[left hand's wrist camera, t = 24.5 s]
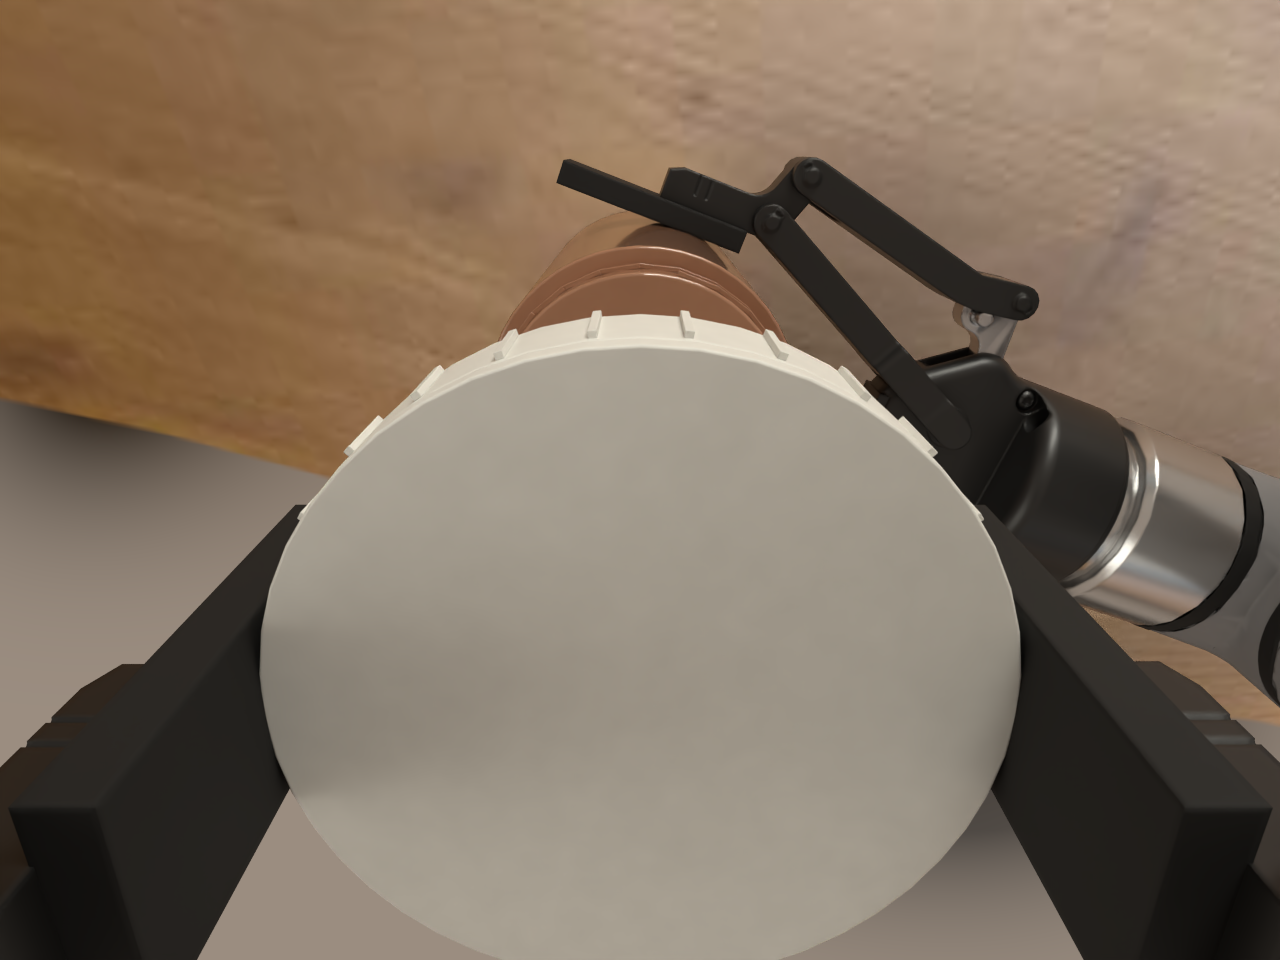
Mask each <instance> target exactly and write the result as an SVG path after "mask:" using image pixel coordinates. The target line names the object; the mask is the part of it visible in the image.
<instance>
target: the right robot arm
mask: <svg viewBox="0 0 1280 960" xmlns="http://www.w3.org/2000/svg"><path fill="white" fill-rule="evenodd" d="M556 183H558V184H561V185H563V186H566V187H568V188H571V189H574V190H576V191H579V192H581V193H584V194H586V195H589V196H592V197H594V198H597V199H599V200H602V201H604V202H607V203H610V204H612V205H615V206H617V207H620V208H623V209H625V210H628V211H630V212H633V213H635V214H638V215H641V216H643V217H646V218H648V219H651V220H653V221H656V222H659V223H661V224H664V225H666V226H669V227H671V228H674V229H677V230H679V231H682V232H684V233H687V234H690V235H692V236H695V237H697V238H700V239H702V240H705V241H708V242H710V243H713V244H715V245H718V246H720V247H723V248H726V249H728V250H731V251H733V252H736V253H739V252H740V249H741V247H742V244H743V242H744V239H745V237H746V234H747V233H750V234H752V235H755V236H756V237H757V238H758V239H759V241H760V242H761V243H762V244H763V245H764V246H765V248H766V249H767V250H768V251H769V252H770V253H771V254H772V256H773V257H774V258H775V259H776V260H777V261H778V262H779V264H780V265H781V266H782V267H783V268H784V269H785V270H786V272H787V273H788V274H789V275H790V276H791V277H792V278H793V280H794V281H795V282H796V283H797V284H798V285H799V286H800V288H801V289H802V290H803V291H804V292H805V293H806V294H807V296H808V297H809V298H810V299H811V300H812V301H813V303H814V304H815V305H816V306H817V307H818V308H819V309H820V311H821V312H822V313H823V314H824V315H825V316H826V317H827V319H828V320H829V321H830V322H831V323H832V324H833V325H834V327H835V328H836V329H837V330H838V331H839V332H840V333H841V335H842V336H843V337H844V338H845V339H846V340H847V341H848V343H849V344H850V345H851V346H852V347H853V348H854V350H855V351H856V352H857V353H858V355H859V356H860V357H861V358H862V359H863V360H864V362H865V363H866V364H867V365H868V366H869V367H870V368H871V370H872V371H873V372H874V373H875V374H876V375H877V376H876V377H875V378H874V379H873V380H872V381H869V380H866V382H865V384H864V386H863V387H864V388H865V389H866V390H867V391H868V392H869V393H870V394H871V395H872V396H873V397H874V398H875V399H876V400H877V401H878V402H879V403H880V404H881V405H882V406H883V407H884V408H885V409H886V410H888V411H889V412H890V413H891V414H892V415H893V416H894V417H895V418H896V419H897V420H899V419H900V418H901V417H905V419H906V420H907V421H908V422H909V423H910V424H911V425H912V426H913V427H914V428H915V429H916V430H917V431H918V432H919V433H920V434H921V435H922V436H923V437H924V438H925V439H926V440H927V441H928V442H929V443H930V445H931V446H932V447H933V448H934V449H935V450H936V451H937V452H938V453H937V454H936V455H935V456H934V457H933V458H934V459H935V460H936V461H937V463H938V464H939V465H940V466H941V467H942V468H943V469H944V471H945V472H946V473H947V474H948V476H949V477H950V478H951V479H952V481H953V482H954V483H955V484H956V486H957V487H958V488H959V489H960V491H961V492H962V493H963V494H964V496H965V497H966V498H967V499H968V500H969V501H970V502H971V503H972V504H973V505H986V506H987V508H988V509H989V510H990V511H991V512H992V513H993V514H994V515H995V516H996V517H997V518H998V519H999V520H1000V521H1001V522H1002V523H1003V524H1004V525H1005V526H1006V528H1007V529H1008V530H1009V531H1010V532H1011V533H1012V534H1013V535H1014V536H1015V537H1016V538H1017V539H1018V540H1019V541H1020V542H1021V543H1022V544H1023V545H1024V546H1025V547H1026V549H1027V550H1028V551H1029V552H1030V553H1031V554H1032V555H1033V556H1034V557H1035V558H1036V559H1037V560H1038V561H1039V562H1040V563H1041V564H1042V565H1043V566H1044V567H1045V569H1046V570H1047V571H1048V572H1049V573H1050V574H1051V575H1052V576H1053V577H1054V578H1055V579H1056V580H1057V581H1058V582H1059V583H1060V584H1061V585H1062V586H1063V587H1064V589H1065V590H1066V591H1067V592H1068V593H1069V594H1070V595H1071V596H1072V597H1073V598H1074V599H1075V600H1076V601H1077V602H1078V603H1079V604H1080V605H1081V606H1082V607H1085V608H1088V609H1091V610H1094V611H1097V612H1100V613H1103V614H1106V615H1109V616H1112V617H1115V618H1118V619H1121V620H1124V621H1127V622H1130V623H1132V624H1134V625H1137V626H1139V627H1142V628H1145V629H1148V630H1152V631H1155V632H1158V633H1160V634H1163V635H1166V636H1168V637H1171V638H1174V639H1177V640H1179V641H1182V642H1185V643H1187V644H1190V645H1193V646H1196V647H1198V648H1201V649H1204V650H1206V651H1208V652H1210V653H1212V654H1214V655H1216V656H1218V657H1220V658H1221V659H1223V660H1225V661H1226V662H1228V663H1229V664H1230V665H1232V666H1233V667H1234V668H1235V669H1236V670H1237V671H1238V672H1240V673H1241V674H1242V675H1243V676H1244V677H1245V678H1246V679H1248V680H1249V681H1250V682H1251V683H1252V684H1253V685H1254V686H1256V687H1257V688H1258V689H1259V690H1260V691H1261V692H1262V693H1263V694H1265V695H1266V696H1267V697H1268V698H1269V699H1270V700H1272V701H1273V702H1274V703H1275V704H1276V705H1277V706H1279V707H1280V479H1278V478H1275V477H1273V476H1270V475H1267V474H1264V473H1262V472H1259V471H1256V470H1253V469H1251V468H1248V467H1245V466H1242V465H1240V464H1237V463H1234V462H1233V461H1231V460H1229V459H1227V458H1225V457H1222V456H1220V455H1218V454H1215V453H1213V452H1210V451H1208V450H1205V449H1203V448H1200V447H1197V446H1195V445H1192V444H1190V443H1187V442H1185V441H1182V440H1180V439H1177V438H1174V437H1172V436H1169V435H1167V434H1164V433H1162V432H1159V431H1157V430H1154V429H1152V428H1149V427H1146V426H1144V425H1141V424H1139V423H1136V422H1134V421H1131V420H1128V419H1124V418H1114V417H1113V416H1112V415H1111V414H1110V413H1108V412H1107V411H1105V410H1103V409H1100V408H1098V407H1095V406H1093V405H1090V404H1087V403H1085V402H1082V401H1080V400H1077V399H1074V398H1072V397H1069V396H1067V395H1064V394H1061V393H1059V392H1056V391H1054V390H1051V389H1049V388H1046V387H1043V386H1041V385H1038V384H1036V383H1033V382H1030V381H1028V380H1025V379H1023V378H1020V377H1018V376H1017V375H1016V374H1015V373H1014V372H1013V371H1012V369H1011V368H1010V366H1009V365H1008V363H1007V362H1006V361H1005V360H1004V359H1003V357H1004V355H1005V352H1006V350H1007V347H1008V344H1009V342H1010V339H1011V337H1012V334H1013V332H1014V329H1015V326H1016V324H1017V321H1018V320H1024V319H1027V318H1029V317H1030V316H1032V315H1033V314H1034V313H1035V311H1036V310H1037V308H1038V304H1039V297H1038V294H1037V292H1036V291H1035V290H1034V289H1033V288H1031V287H1029V286H1026V285H1023V284H1020V283H1018V282H1015V281H1012V280H1009V279H1006V278H1003V277H1001V276H996V275H992V274H988V273H984V272H979V271H976V270H974V269H973V268H972V267H970V266H969V265H967V264H966V263H965V262H963V261H962V260H960V259H959V258H958V257H956V256H955V255H953V254H952V253H951V252H949V251H948V250H947V249H945V248H944V247H942V246H941V245H940V244H938V243H937V242H935V241H934V240H933V239H931V238H930V237H928V236H927V235H926V234H924V233H923V232H922V231H920V230H919V229H917V228H916V227H915V226H913V225H912V224H910V223H909V222H908V221H906V220H905V219H904V218H902V217H901V216H899V215H898V214H897V213H895V212H894V211H892V210H891V209H890V208H888V207H887V206H885V205H884V204H883V203H881V202H880V201H879V200H877V199H876V198H874V197H873V196H872V195H870V194H869V193H867V192H866V191H865V190H863V189H862V188H861V187H859V186H858V185H856V184H855V183H854V182H852V181H851V180H849V179H848V178H847V177H845V176H844V175H842V174H841V173H840V172H838V171H837V170H836V169H834V168H833V167H831V166H830V165H829V164H827V163H826V162H824V161H823V160H821V159H818V158H814V157H796V158H794V159H791V160H790V161H789V162H788V163H787V164H786V165H785V168H784V170H783V171H782V172H781V174H780V175H779V176H778V177H777V178H776V179H775V181H774V182H773V183H772V184H771V185H770V186H769V187H768V188H767V189H765V190H764V191H762V192H758V193H749V192H745V191H742V190H740V189H737V188H735V187H732V186H730V185H727V184H725V183H722V182H720V181H717V180H715V179H712V178H710V177H707V176H705V175H702V174H700V173H697V172H695V171H692V170H690V169H687V168H685V167H677V168H669V169H668V171H667V174H666V177H665V180H664V183H663V185H662V188H661V191H660V194H658V193H655V192H653V191H650V190H648V189H645V188H643V187H640V186H637V185H635V184H632V183H630V182H627V181H625V180H622V179H620V178H617V177H614V176H612V175H609V174H607V173H604V172H602V171H599V170H597V169H594V168H592V167H589V166H586V165H584V164H581V163H579V162H576V161H574V160H571V159H567V160H563V163H562V167H561V170H560V173H559V176H558V179H557V182H556ZM808 204H810V205H811V206H813V207H814V208H816V209H817V210H819V211H820V212H821V213H823V214H824V215H826V216H827V217H828V218H830V219H831V220H833V221H834V222H836V223H837V224H838V225H840V226H841V227H843V228H844V229H845V230H847V231H848V232H850V233H851V234H853V235H854V236H855V237H857V238H858V239H860V240H861V241H862V242H864V243H865V244H867V245H868V246H870V247H871V248H872V249H874V250H875V251H877V252H878V253H880V254H881V255H882V256H884V257H885V258H887V259H888V260H889V261H891V262H892V263H894V264H895V265H897V266H898V267H899V268H901V269H902V270H904V271H905V272H906V273H908V274H909V275H911V276H912V277H914V278H915V279H916V280H918V281H919V282H921V283H922V284H923V285H925V286H926V287H928V288H929V289H931V290H933V291H934V292H936V293H938V294H940V295H942V296H944V297H946V298H948V299H950V300H952V301H954V302H955V305H954V308H953V318H954V321H955V322H956V323H957V324H958V325H960V326H961V327H963V328H965V329H966V330H967V331H968V333H969V335H970V345H969V347H966V348H962V349H958V350H955V351H951V352H947V353H943V354H940V355H936V356H932V357H928V358H925V359H921V360H917V361H915V360H914V359H913V358H912V356H911V355H910V354H909V353H908V352H907V351H906V350H905V349H904V348H903V347H902V346H901V345H900V344H899V343H898V342H897V340H896V339H895V338H894V337H893V336H892V335H891V333H890V332H889V331H888V330H887V329H886V328H885V326H884V325H883V324H882V323H881V322H880V320H879V319H878V318H877V317H876V316H875V315H874V313H873V312H872V311H871V310H870V309H869V308H868V306H867V305H866V304H865V303H864V302H863V300H862V299H861V298H860V297H859V296H858V295H857V293H856V292H855V291H854V290H853V289H852V288H851V286H850V285H849V284H848V283H847V282H846V281H845V279H844V278H843V277H842V276H841V275H840V273H839V272H838V271H837V270H836V269H835V268H834V266H833V265H832V264H831V263H830V262H829V261H828V259H827V258H826V257H825V256H824V255H823V253H822V252H821V251H820V250H819V249H818V248H817V246H816V245H815V244H814V243H813V242H812V241H811V239H810V238H809V237H808V236H807V235H806V233H805V232H804V231H803V230H802V229H801V228H800V226H799V225H798V224H797V223H796V222H795V221H794V220H795V219H796V217H797V216H798V215H799V214H800V213H801V212H802V211H803V209H804V208H805V207H806V206H807V205H808Z"/></svg>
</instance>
